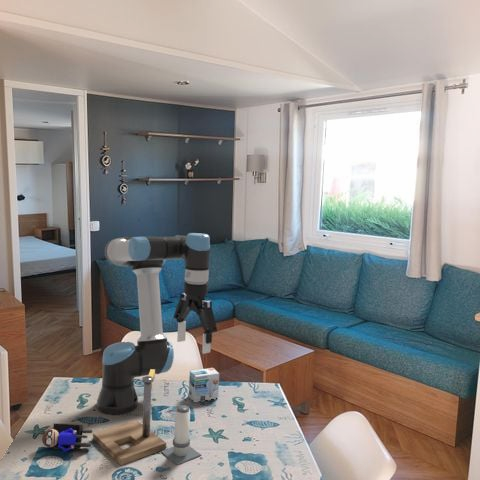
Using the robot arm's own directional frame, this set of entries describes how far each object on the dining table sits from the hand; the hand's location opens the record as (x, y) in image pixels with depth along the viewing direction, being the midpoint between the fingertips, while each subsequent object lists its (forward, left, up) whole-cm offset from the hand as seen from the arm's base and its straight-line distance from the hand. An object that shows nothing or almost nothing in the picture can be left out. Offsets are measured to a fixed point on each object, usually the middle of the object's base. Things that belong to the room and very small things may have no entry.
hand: (193, 346), depth 158 cm
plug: (+4, -6, -32) cm, 33 cm away
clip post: (-9, -11, -31) cm, 34 cm away
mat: (+4, -6, -33) cm, 33 cm away
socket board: (-11, -16, -33) cm, 38 cm away
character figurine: (-20, -33, -33) cm, 51 cm away
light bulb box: (-25, +25, -33) cm, 48 cm away
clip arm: (-15, -6, -17) cm, 23 cm away
